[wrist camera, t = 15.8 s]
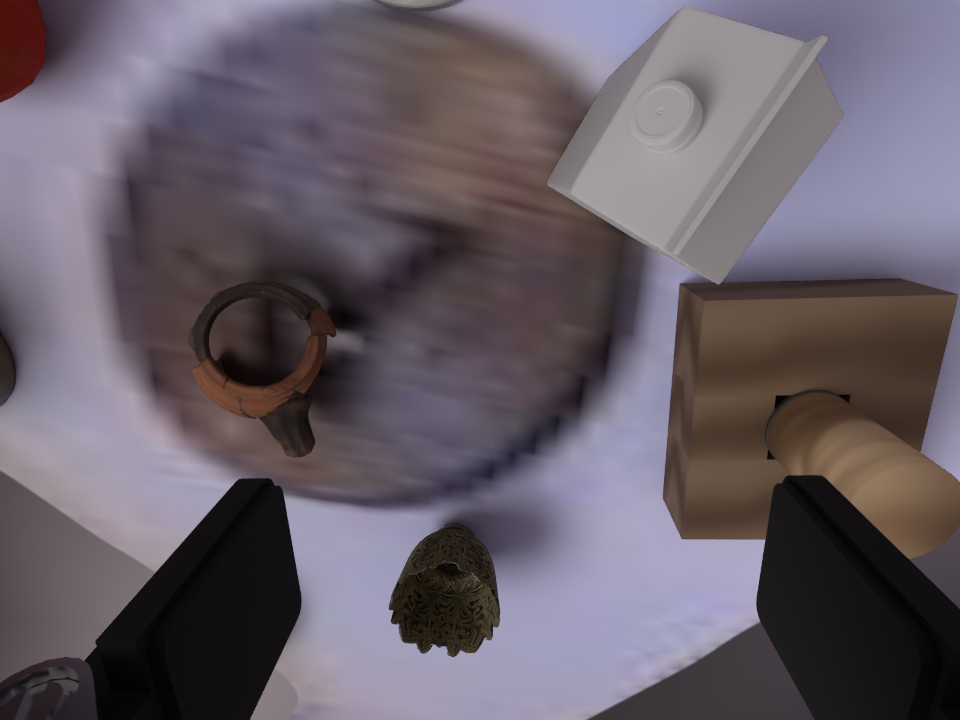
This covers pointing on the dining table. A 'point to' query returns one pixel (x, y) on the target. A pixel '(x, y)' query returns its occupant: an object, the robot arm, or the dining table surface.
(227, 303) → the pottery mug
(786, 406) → the oak peg
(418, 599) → the dark rounded textured piece
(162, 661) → the robot arm
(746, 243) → the milk carton
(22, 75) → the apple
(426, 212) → the dining table surface
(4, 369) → the pillar candle
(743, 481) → the walnut block
